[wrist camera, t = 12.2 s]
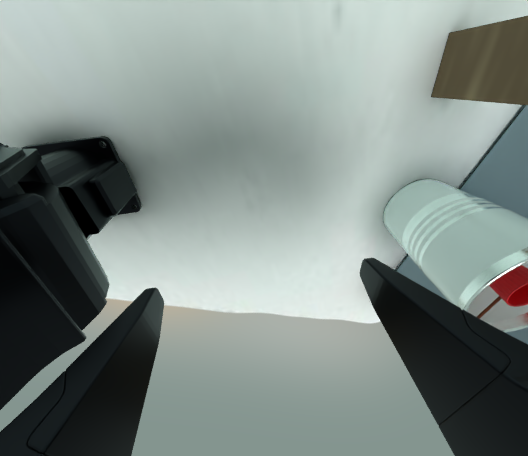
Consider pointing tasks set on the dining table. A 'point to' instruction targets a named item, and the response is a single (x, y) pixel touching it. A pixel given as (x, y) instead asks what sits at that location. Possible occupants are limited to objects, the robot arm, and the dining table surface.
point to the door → (495, 189)
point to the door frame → (486, 64)
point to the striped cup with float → (465, 249)
